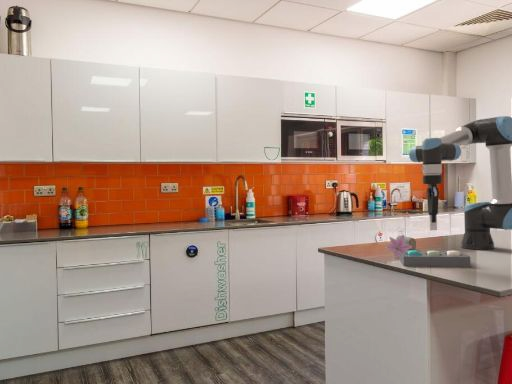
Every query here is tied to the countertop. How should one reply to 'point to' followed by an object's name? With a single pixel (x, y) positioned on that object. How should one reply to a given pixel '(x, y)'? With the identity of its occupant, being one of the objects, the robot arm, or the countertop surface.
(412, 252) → the teal button
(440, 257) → the console
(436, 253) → the sage button
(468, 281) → the countertop surface
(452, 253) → the cream button
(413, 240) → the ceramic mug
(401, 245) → the lily
